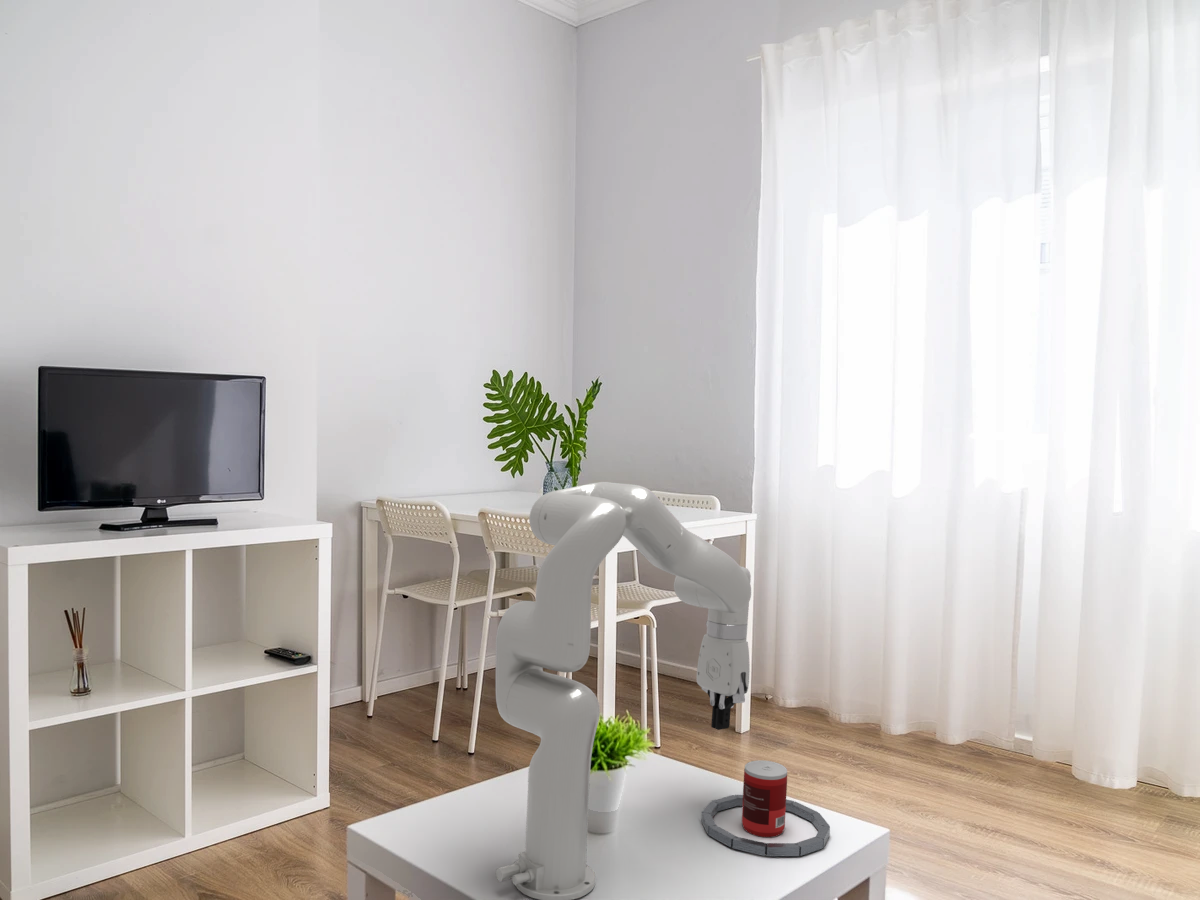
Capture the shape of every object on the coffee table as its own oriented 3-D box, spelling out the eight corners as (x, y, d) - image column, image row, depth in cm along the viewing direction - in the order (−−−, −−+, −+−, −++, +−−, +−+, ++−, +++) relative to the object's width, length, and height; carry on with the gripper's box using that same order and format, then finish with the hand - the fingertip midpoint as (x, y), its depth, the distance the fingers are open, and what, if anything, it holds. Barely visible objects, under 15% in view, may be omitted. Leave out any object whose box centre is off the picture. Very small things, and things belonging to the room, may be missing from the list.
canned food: (781, 820, 170) (784, 761, 170) (787, 839, 162) (790, 777, 162) (739, 817, 171) (742, 758, 170) (743, 836, 163) (746, 774, 162)
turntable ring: (766, 867, 151) (767, 849, 151) (678, 817, 169) (678, 801, 169) (853, 837, 164) (854, 820, 164) (763, 794, 181) (764, 779, 181)
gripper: (685, 624, 179) (679, 719, 179) (740, 640, 167) (733, 742, 167) (714, 622, 183) (708, 714, 183) (769, 637, 171) (763, 736, 171)
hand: (720, 727), depth 175 cm, fingers closed
